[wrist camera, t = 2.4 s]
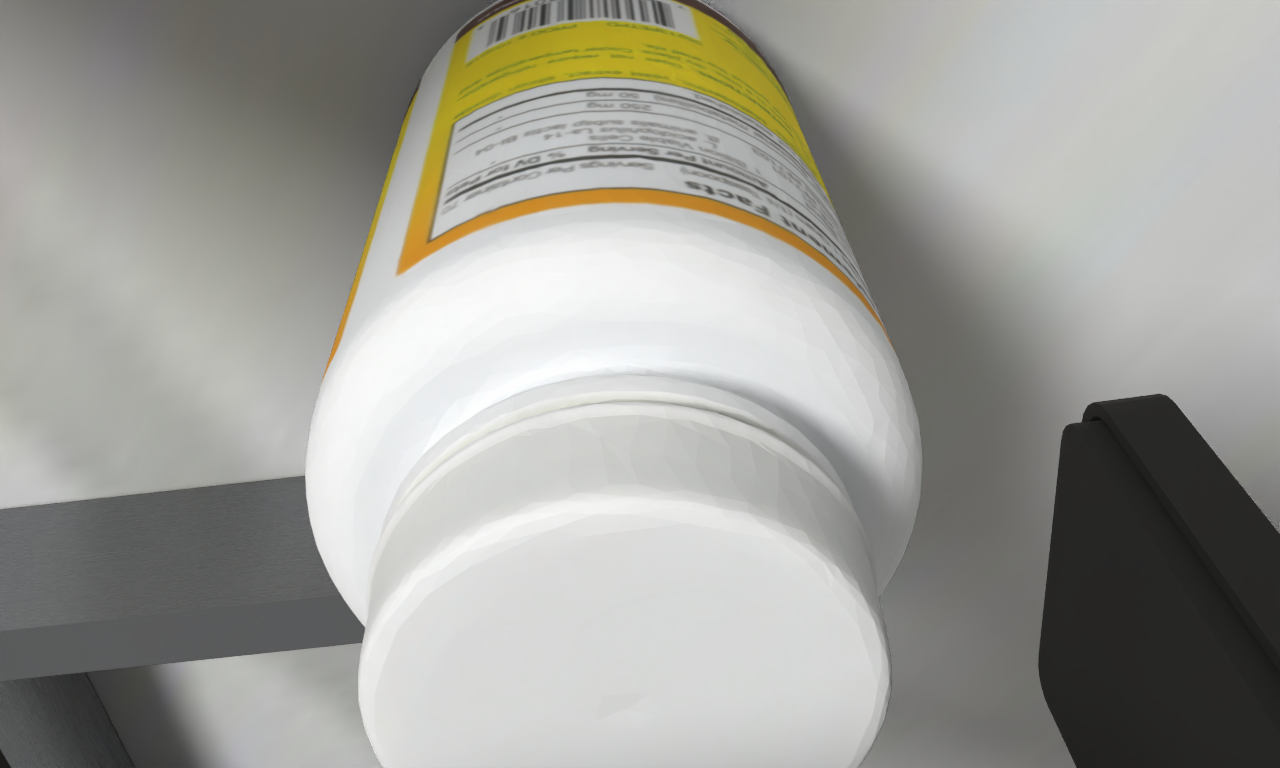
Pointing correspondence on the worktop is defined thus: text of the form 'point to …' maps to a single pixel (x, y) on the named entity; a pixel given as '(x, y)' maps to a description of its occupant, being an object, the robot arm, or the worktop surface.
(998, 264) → the worktop surface
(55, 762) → the dark grey divided tray
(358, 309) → the supplement bottle
